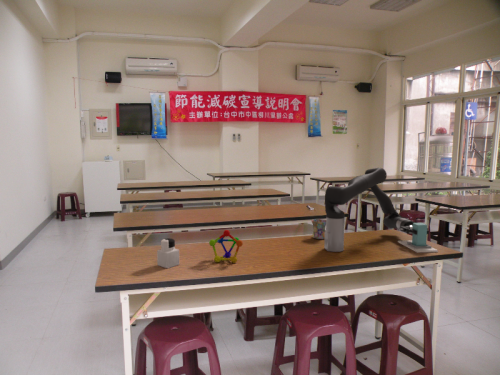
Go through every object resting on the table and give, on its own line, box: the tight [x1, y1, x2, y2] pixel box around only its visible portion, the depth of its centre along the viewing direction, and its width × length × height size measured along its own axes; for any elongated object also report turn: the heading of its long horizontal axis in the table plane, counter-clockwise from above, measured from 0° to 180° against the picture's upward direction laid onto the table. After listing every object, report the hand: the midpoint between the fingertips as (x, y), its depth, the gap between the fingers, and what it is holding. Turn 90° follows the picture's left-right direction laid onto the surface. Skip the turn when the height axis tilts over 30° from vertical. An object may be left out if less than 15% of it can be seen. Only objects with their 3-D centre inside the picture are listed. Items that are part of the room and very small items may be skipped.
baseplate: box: [397, 239, 439, 253], centre depth 188 cm, size 11×20×2 cm, turn 4°
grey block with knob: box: [156, 237, 180, 269], centre depth 158 cm, size 7×7×12 cm
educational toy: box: [208, 229, 244, 264], centre depth 166 cm, size 16×13×15 cm
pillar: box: [411, 222, 428, 246], centre depth 185 cm, size 5×5×12 cm
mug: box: [311, 218, 326, 240], centre depth 208 cm, size 12×9×11 cm
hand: (422, 232), depth 183 cm, fingers open, 5 cm apart
